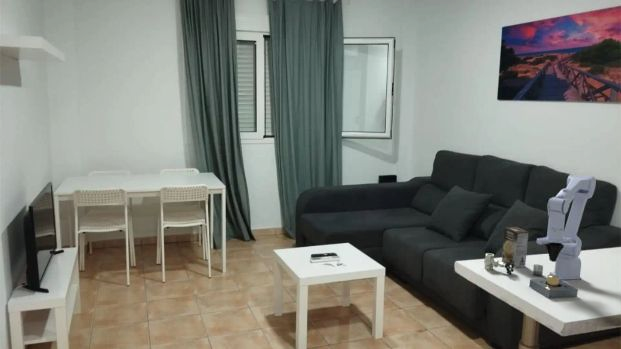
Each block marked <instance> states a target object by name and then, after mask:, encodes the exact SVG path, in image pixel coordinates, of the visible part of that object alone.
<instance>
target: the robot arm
mask: <svg viewBox="0 0 621 349" xmlns="http://www.w3.org/2000/svg"><path fill="white" fill-rule="evenodd" d="M596 183H597V181H596V178H595V176H588V175H581V174H580V175H579V174H573V173H571V174H569V175H568V177H567V179H566V187H565V188H562V189H560V191H559V192H558V193H557V194H556V196H552V197H550V198H548V199H549V200H548V202H547V206H546V207H547V208H546V209H547V215H548V223H547V232H546V233H547V234H546V236H545V237H539V238H536V244H538V245H545V248H546V250H547V252H548V258H549V259H548V260H549V261H551V262H552V263H554V271H549V275H556V276H558V277H559V279H560V280H561V281H564V280H580V279H582V276H581V270H582V260H581V258H580V254H581V252H582V251H581V250H582V244H583V243H582V240H581V238H580V237H579V236H578V231H579V228H580V223H581V221H582V219H583V218H582V217H583V214H584V210H585V207H586V204H587V202H588V199H591V198H592V197H593V195H594V192H595V190H596V185H597V184H596ZM571 203H572V204H571ZM570 204H571V205H570ZM570 206H571V208H570ZM569 208H570V211H569ZM568 211H569V215H568V217H567V221H566V214H567V213H568ZM565 221H566V224H565Z"/></svg>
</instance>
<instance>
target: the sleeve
mask: <svg viewBox="0 0 621 349" xmlns="http://www.w3.org/2000/svg"><path fill="white" fill-rule="evenodd" d="M543 270H544V265H541V264H537V263H536V264H533V270H532V272H533V274H532V275H533V276H536V277H542V276H543V273H544V272H543Z"/></svg>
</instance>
